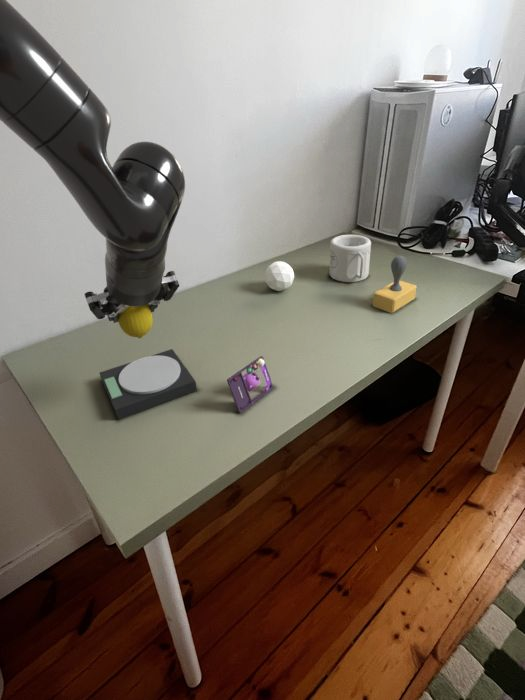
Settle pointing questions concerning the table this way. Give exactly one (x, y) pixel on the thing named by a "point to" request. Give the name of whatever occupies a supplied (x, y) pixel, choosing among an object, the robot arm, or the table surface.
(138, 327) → the lemon
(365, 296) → the table surface
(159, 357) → the scale
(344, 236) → the mug
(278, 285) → the geometric ball
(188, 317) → the table surface
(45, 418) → the table surface
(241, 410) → the purple toy
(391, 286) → the rubber stamp
